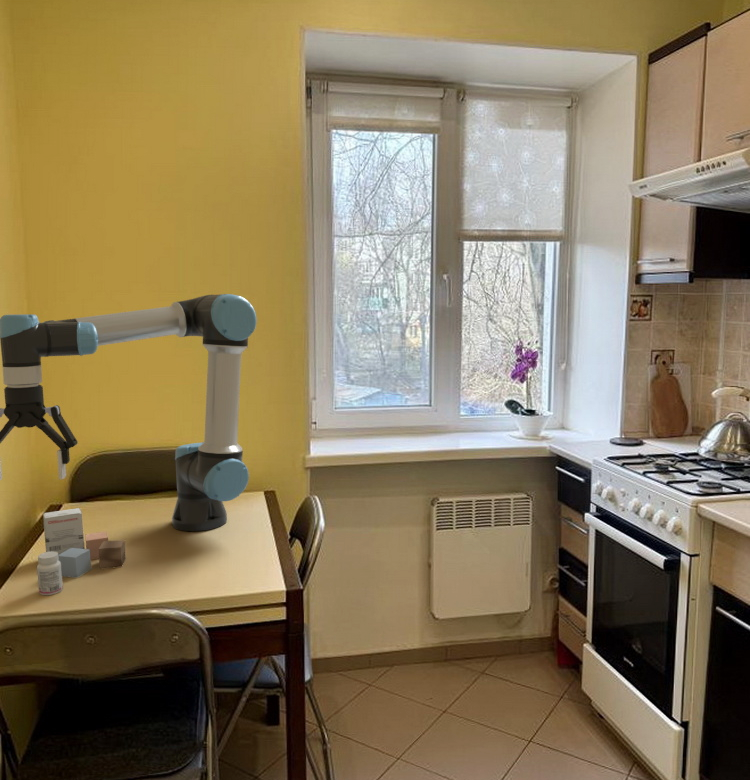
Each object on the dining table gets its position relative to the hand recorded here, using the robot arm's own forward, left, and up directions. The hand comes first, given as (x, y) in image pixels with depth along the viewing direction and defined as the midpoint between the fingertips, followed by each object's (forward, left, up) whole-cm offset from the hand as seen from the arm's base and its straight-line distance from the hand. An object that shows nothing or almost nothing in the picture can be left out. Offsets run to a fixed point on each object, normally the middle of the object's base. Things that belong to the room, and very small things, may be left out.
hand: (30, 479), depth 149 cm
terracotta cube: (-7, -15, -24) cm, 29 cm away
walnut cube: (-13, -9, -24) cm, 29 cm away
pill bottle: (-5, +6, -24) cm, 25 cm away
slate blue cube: (-6, -4, -24) cm, 25 cm away
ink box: (0, -14, -24) cm, 28 cm away
